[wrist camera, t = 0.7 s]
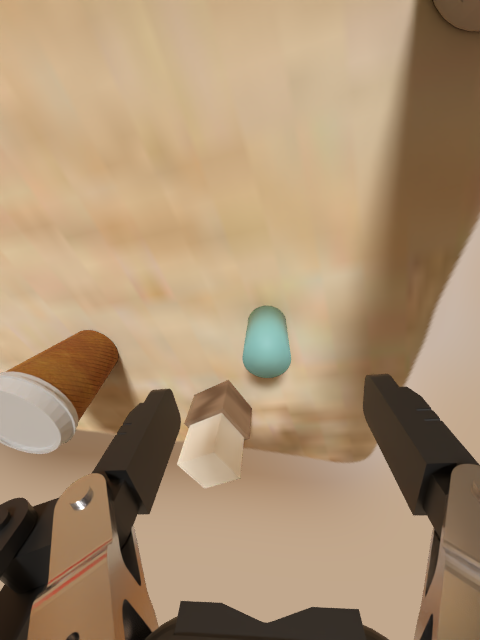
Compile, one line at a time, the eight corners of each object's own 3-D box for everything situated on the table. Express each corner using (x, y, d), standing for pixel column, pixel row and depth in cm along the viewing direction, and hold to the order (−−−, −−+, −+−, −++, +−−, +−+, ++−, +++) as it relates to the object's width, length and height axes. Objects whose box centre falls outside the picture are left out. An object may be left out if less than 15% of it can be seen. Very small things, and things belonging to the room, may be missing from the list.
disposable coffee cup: (126, 385, 35) (66, 467, 25) (61, 363, 35) (-29, 438, 24) (134, 334, 31) (66, 407, 20) (60, 308, 30) (-50, 370, 20)
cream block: (221, 412, 29) (213, 452, 25) (244, 437, 31) (240, 478, 26) (189, 425, 31) (176, 464, 26) (212, 448, 32) (204, 488, 28)
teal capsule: (273, 299, 27) (275, 331, 21) (292, 328, 28) (299, 366, 22) (240, 316, 28) (233, 351, 22) (260, 344, 30) (258, 384, 24)
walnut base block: (228, 379, 33) (222, 408, 29) (251, 407, 35) (249, 438, 31) (194, 394, 35) (184, 423, 31) (218, 420, 37) (212, 451, 33)
